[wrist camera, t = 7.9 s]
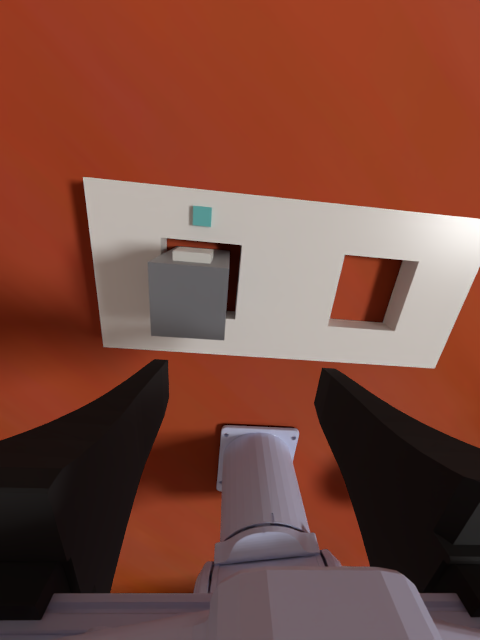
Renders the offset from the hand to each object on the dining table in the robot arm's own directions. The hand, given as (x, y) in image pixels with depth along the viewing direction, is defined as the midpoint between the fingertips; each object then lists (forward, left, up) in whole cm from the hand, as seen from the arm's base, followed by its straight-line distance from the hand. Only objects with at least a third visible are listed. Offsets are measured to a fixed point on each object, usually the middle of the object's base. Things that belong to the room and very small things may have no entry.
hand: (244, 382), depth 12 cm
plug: (+3, +3, -10) cm, 11 cm away
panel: (+3, -3, -10) cm, 11 cm away
